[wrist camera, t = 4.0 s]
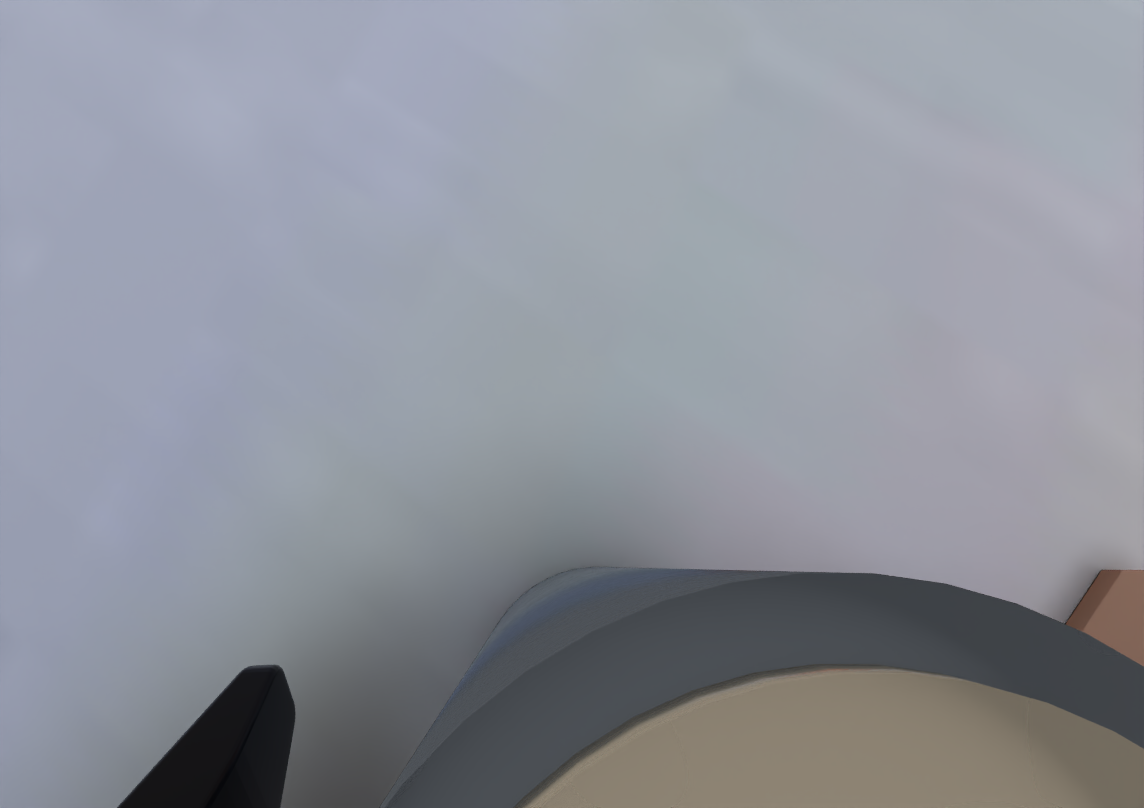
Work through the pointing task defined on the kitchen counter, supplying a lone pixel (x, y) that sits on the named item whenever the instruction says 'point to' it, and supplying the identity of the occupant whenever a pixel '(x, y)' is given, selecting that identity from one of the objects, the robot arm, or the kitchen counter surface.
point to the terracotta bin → (1114, 612)
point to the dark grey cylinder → (781, 700)
